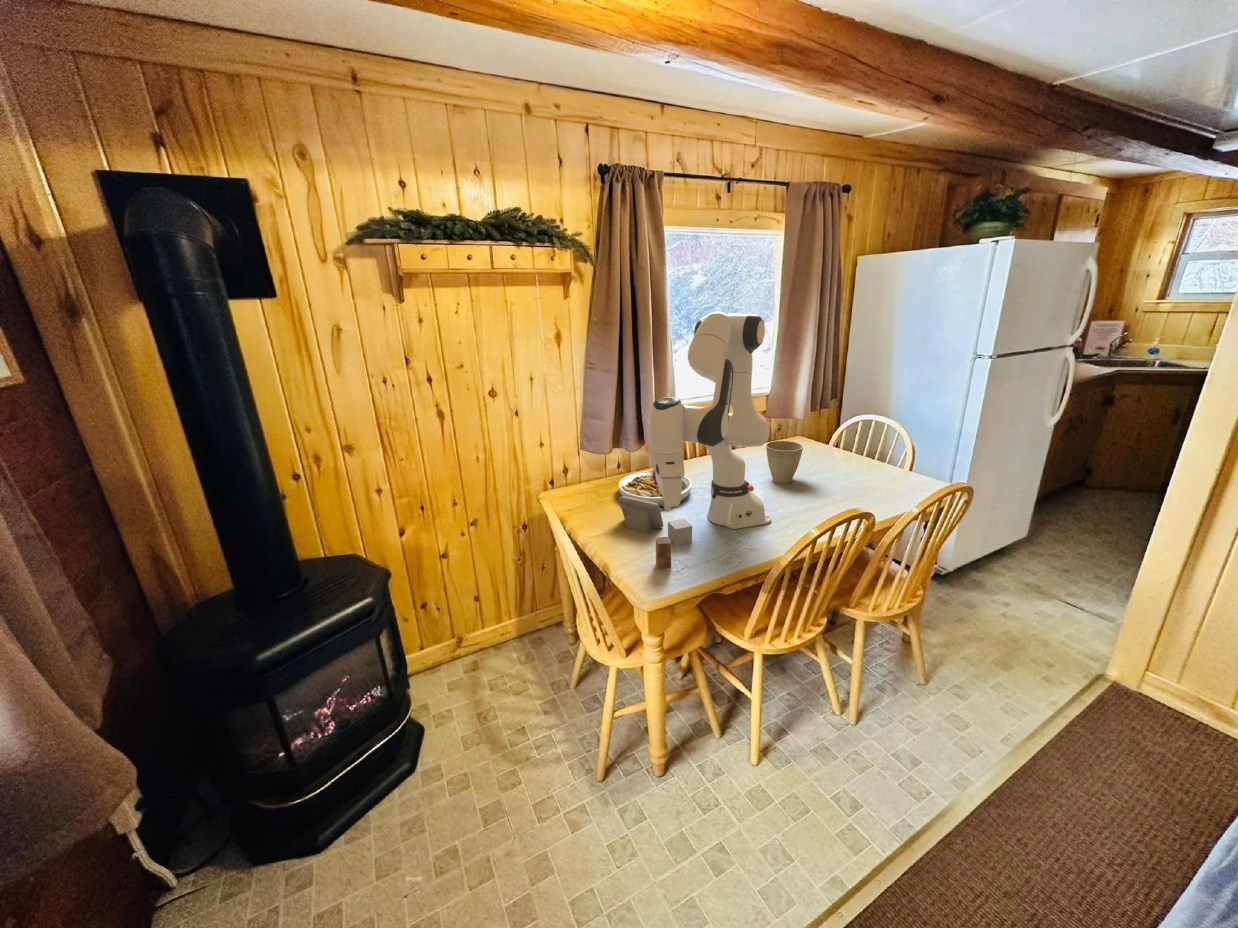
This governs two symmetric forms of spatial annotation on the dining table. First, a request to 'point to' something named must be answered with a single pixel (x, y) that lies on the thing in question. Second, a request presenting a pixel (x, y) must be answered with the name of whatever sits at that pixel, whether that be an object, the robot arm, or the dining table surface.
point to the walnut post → (663, 553)
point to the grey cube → (680, 531)
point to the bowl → (648, 487)
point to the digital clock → (640, 514)
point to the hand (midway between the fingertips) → (666, 507)
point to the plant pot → (783, 459)
